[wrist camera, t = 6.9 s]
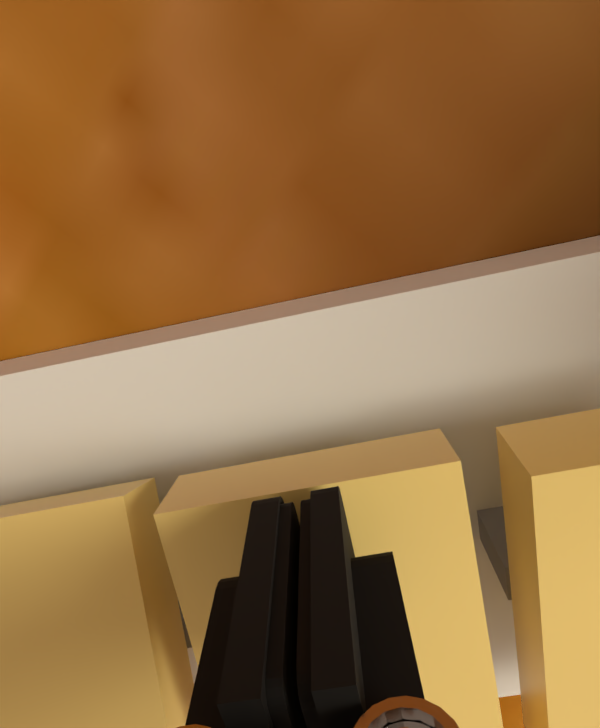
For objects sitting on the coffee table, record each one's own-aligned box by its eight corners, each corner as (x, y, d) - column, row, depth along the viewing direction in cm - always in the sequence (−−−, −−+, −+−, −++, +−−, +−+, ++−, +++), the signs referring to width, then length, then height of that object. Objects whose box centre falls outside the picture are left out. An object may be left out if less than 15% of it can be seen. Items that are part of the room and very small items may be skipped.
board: (-101, 382, 15) (-230, 449, 11) (736, 206, 13) (901, 221, 9) (75, 711, 20) (24, 830, 16) (703, 623, 18) (803, 738, 14)
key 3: (-64, 517, 13) (-135, 543, 11) (154, 477, 13) (119, 498, 11) (-1, 860, 13) (-63, 947, 11) (222, 834, 13) (199, 921, 11)
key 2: (178, 475, 12) (149, 519, 10) (439, 428, 11) (463, 464, 9) (265, 786, 14) (255, 875, 12) (494, 758, 13) (524, 847, 11)
